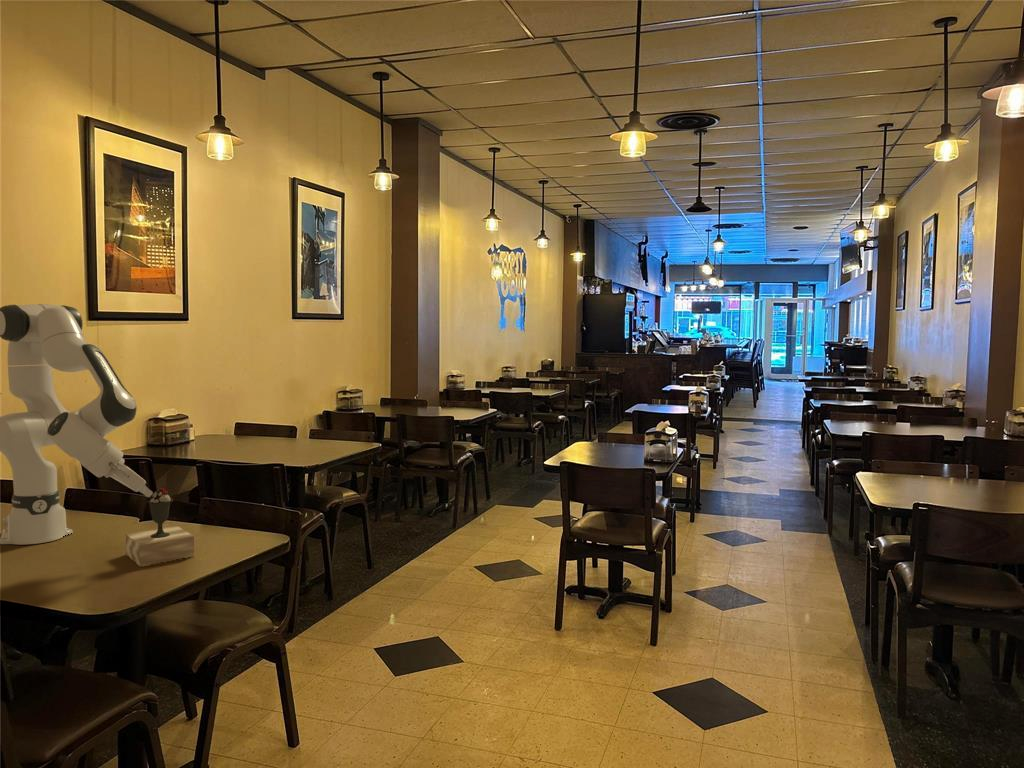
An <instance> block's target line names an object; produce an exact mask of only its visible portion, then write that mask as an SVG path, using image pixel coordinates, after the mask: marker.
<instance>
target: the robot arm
mask: <svg viewBox="0 0 1024 768" xmlns="http://www.w3.org/2000/svg"><path fill="white" fill-rule="evenodd" d="M83 326H84V325H83V318H82V315H81V313H80V312H79V310H78V309H76V307H73V306H68V305H56V304H55V305H54V304H47V303H39V304H19V305H17V304H9V305H3V306H1V307H0V338H1V339H2V340H4V341H8V346H7V359H6V361H7V374H8V390H9V392H10V393H11V395H13V396H14V397H15V398H17V399H20V400H22V401H23V403H24V405H25V407H26V410H27V411H25V412H13V413H8V414H4V415H1V416H0V453H1V454H2V455H4V457H6V460H7V461H8V462H9V464H10V465H9V466H10V468H11V473H12V484H13V485H12V486H13V494H12V497H11V506H12V509H11V510H10V512H9V513H8V515H7V517H4V518H2V526H3V527H5V528H4V529H3V530H2V532H1V535H0V545H20V546H21V545H38V544H42V543H48V542H53V541H56V540H59V539H62V538H63V536H64V537H65V535H66V536H68V534H69V535H72V534H74V532H73V529H71V528H69V527H67V515H66V509H65V507H64V506H62V505H60V503H59V502H60V498H61V496H60V491H59V490H58V469H57V466H56V465H55V463H54V462H52V461H50V460H48V459H46V458H44V457H43V454H42V451H41V448H42V447H48V446H53V445H54V446H55V445H56V446H57V447H58V448H59V449H60V450H62V451H63V452H64V453H65V454H66V455H68V456H69V457H71V458H73V459H75V460H77V462H79V463H80V464H81V466H82V467H84V468H85V469H86V470H87V471H89V472H90V473H92V474H93V475H94V476H95V477H97V478H102V477H103V476H104V477H105V479H106V478H108V479H109V478H111V479H114V480H115V481H117V482H119V483H120V484H121V485H123V486H126V487H127V488H129V489H130V490H132V491H133V492H136V493H138V492H139V493H141V494H143V496H145V497H147V498H149V497H150V496H151V495H152V494H154V492H153V491H152V490H151V489H150V488H148V487H147V481H146V480H145V479H144V478H143V477H141V476H140V475H139V474H137V472H135V471H134V470H133V469H131V468H130V467H129V466H127V465H126V464H125V458H123V457H124V452H123V451H122V450H121V449H120V448H119V447H117V446H116V445H114V444H113V442H111V441H110V440H109V439H105V438H104V437H105V436H107V435H109V434H110V433H112V432H113V431H115V430H116V429H118V428H119V427H122V426H124V425H125V424H127V423H129V422H132V421H133V420H134V419H135V417H136V414H137V410H138V409H137V402H136V399H134V397H133V395H132V394H131V393H130V392H129V391H128V390H127V388H125V385H124V384H123V382H122V380H121V379H120V378H119V376H118V375H117V373H116V371H115V369H114V368H113V366H112V365H111V362H110V361H109V360H108V358H107V357H106V356H105V354H104V352H103V351H102V350H101V349H100V348H99V347H98V346H96V345H94V344H91V343H88V341H86V337H85V336H84V333H83ZM53 369H54V370H57V371H60V372H65V373H75V372H82V371H86V370H88V371H89V372H90V374H91V376H92V377H93V379H94V381H95V383H96V384H97V386H98V387H99V390H100V391H99V394H98V396H97V397H95V398H94V399H92V400H91V401H90V402H88V403H87V404H85V405H82V406H81V407H80V408H78V409H75V410H74V411H71V412H70V411H69V410H68V409H66V408H65V407H64V406H63V404H62V403H61V402H60V400H59V398H58V397H57V394H56V389H55V386H54V377H53ZM71 533H72V534H71Z"/></svg>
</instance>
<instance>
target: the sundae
mask: <svg viewBox="0 0 1024 768" xmlns="http://www.w3.org/2000/svg"><path fill="white" fill-rule="evenodd" d="M167 485H169V483H168V482H167V483H166V482H165V484H164V485H163V486H162V487H161V488H159V490H156V491H155V492H153V494H152V495H151V496H150V497H148V498H149V499H148V500H146V503H148V504H149V509H150V515H151V520H152V521H153V522H154V523H156V524H157V529H158V530H157V532H156V533H155V534H152V535H151V537H152V538H162V537H167V536H169V535H170V534H169V533H165V532H164V531H163V528H164V527H163V524H164V523H165V522H166V521H167V520H168V518H169V514H170V506H171V503H173V501H174V499H173V498H172V497H170V495H168V491H167V490H166V486H167Z"/></svg>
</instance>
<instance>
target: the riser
mask: <svg viewBox="0 0 1024 768" xmlns="http://www.w3.org/2000/svg"><path fill="white" fill-rule="evenodd" d="M162 528H163V531H164V532H165V533H169V534H170V535H169V536H167V537H162V538H152V537H151V535H152V534H155V533H156V532H157V530H158V528H156V529H149V530H143V531H137V532H136V531H135V532H130V533H125V554H126V555H125V556H127V557H128V556H129V557H130V558H129V557H128V558H129V559H130V560H132V561H133V562H134V563H135V562H136V563H135V564H136V565H138V566H139V567H140V568H141V566H142V567H145V566H146V567H147V566H151V564H153V565H157V563H158V564H162V563H161V562H163V563H168V562H167V561H169V562H172V561H171V560H174V561H177V560H176V559H179V560H183V559H182V558H185V559H189V557H190V558H194V557H195V535H193V534H191V533H190V532H188V531H186V530H184V529H183V528H181V526H178V525H175V526H168V527H162Z"/></svg>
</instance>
